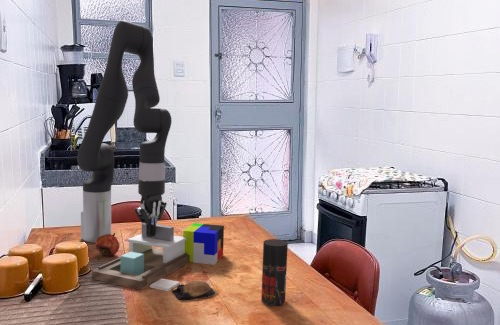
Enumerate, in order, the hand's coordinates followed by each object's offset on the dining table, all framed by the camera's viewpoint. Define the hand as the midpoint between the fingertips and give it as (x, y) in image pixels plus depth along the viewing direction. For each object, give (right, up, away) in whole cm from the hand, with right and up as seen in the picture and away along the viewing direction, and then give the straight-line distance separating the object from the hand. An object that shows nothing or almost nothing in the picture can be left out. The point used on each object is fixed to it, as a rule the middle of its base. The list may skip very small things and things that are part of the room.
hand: (150, 236), depth 140 cm
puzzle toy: (+14, -9, +10) cm, 20 cm away
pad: (+7, -11, -14) cm, 19 cm away
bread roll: (+15, -13, -18) cm, 26 cm away
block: (-4, -10, -7) cm, 13 cm away
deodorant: (+35, -13, -21) cm, 43 cm away
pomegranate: (-15, -8, +9) cm, 19 cm away
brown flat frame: (-2, -9, -2) cm, 10 cm away
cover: (+1, -6, +4) cm, 7 cm away
